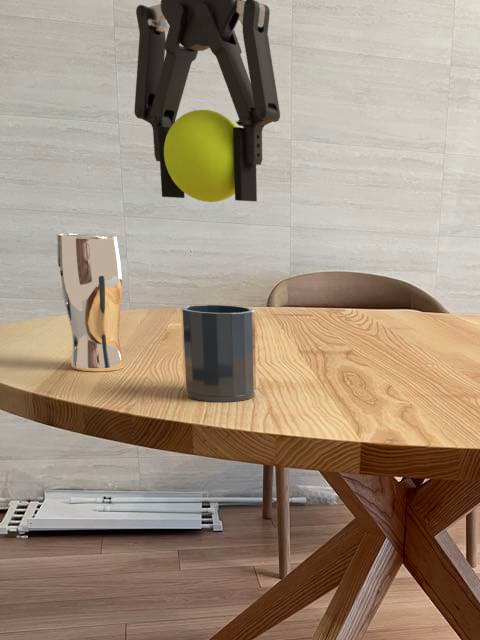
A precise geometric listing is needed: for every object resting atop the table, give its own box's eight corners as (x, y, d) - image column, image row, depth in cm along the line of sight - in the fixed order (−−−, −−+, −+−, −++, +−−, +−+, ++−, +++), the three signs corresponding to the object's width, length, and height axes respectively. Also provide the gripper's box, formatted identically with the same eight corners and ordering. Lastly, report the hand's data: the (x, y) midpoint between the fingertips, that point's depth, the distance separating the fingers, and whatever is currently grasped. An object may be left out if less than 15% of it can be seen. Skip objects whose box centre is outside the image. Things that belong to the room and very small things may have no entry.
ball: (148, 199, 82) (142, 104, 79) (200, 201, 89) (197, 115, 86) (218, 202, 79) (214, 104, 76) (266, 204, 86) (265, 115, 83)
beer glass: (103, 374, 96) (91, 237, 90) (54, 368, 98) (40, 233, 92) (140, 365, 102) (131, 236, 96) (94, 359, 104) (83, 233, 98)
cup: (171, 395, 88) (166, 308, 84) (213, 384, 94) (210, 302, 90) (228, 405, 85) (226, 315, 81) (268, 393, 91) (267, 309, 88)
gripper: (318, -64, 75) (317, 204, 84) (135, -48, 83) (151, 196, 91) (274, -92, 69) (277, 202, 77) (80, -71, 76) (102, 194, 85)
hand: (209, 198), depth 84 cm, fingers closed on ball, 8 cm apart
